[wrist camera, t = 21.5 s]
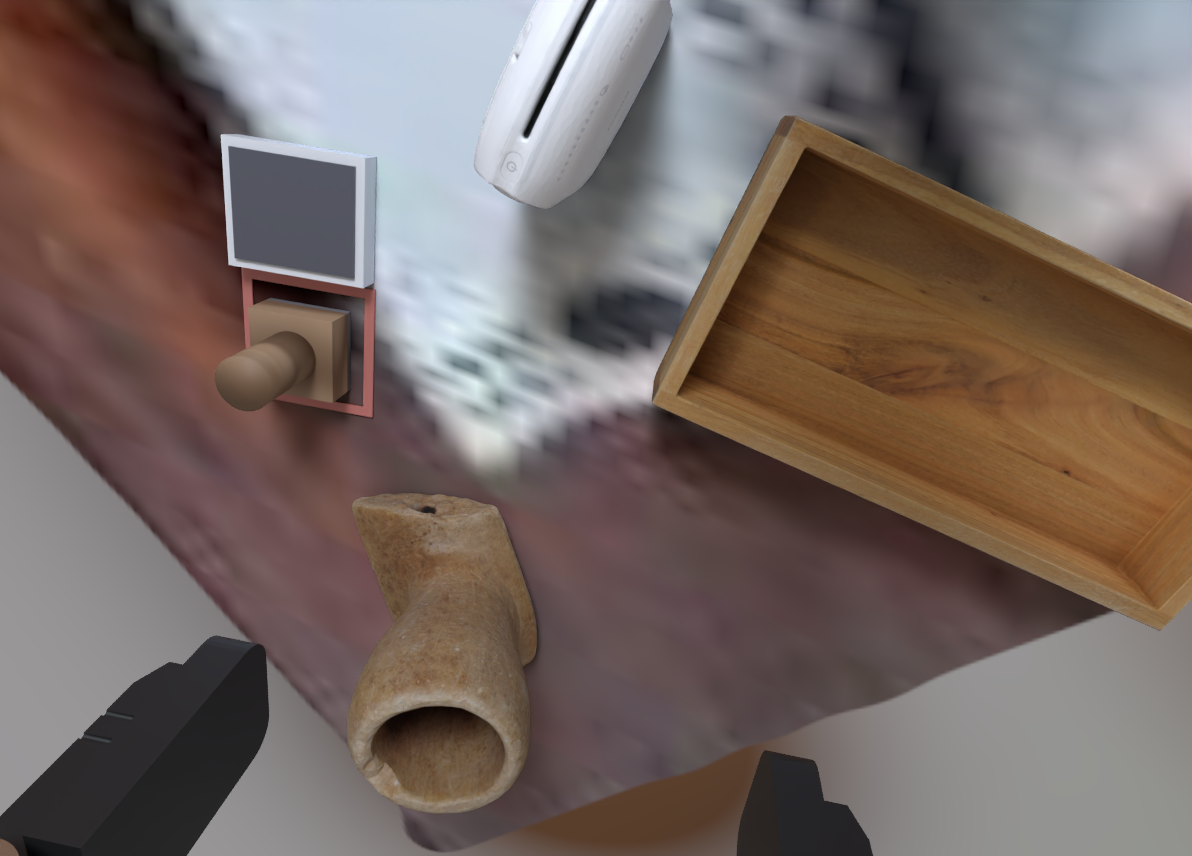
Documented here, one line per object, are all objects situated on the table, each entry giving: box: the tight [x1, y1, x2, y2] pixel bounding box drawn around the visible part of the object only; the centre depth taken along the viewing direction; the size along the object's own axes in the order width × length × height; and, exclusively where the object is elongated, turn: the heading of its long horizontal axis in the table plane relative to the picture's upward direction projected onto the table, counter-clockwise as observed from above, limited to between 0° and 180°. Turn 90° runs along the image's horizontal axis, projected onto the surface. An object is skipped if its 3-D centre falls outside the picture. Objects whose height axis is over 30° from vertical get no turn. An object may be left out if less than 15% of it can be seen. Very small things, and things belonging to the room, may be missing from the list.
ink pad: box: [221, 134, 376, 288], centre depth 41 cm, size 7×8×2 cm
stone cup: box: [347, 493, 537, 814], centre depth 43 cm, size 15×12×15 cm
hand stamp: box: [215, 298, 351, 411], centre depth 41 cm, size 5×5×8 cm
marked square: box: [241, 267, 375, 417], centre depth 45 cm, size 8×8×1 cm
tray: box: [652, 116, 1192, 631], centre depth 38 cm, size 31×15×6 cm, turn 66°
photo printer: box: [474, 0, 673, 209], centre depth 31 cm, size 10×4×12 cm, turn 150°
